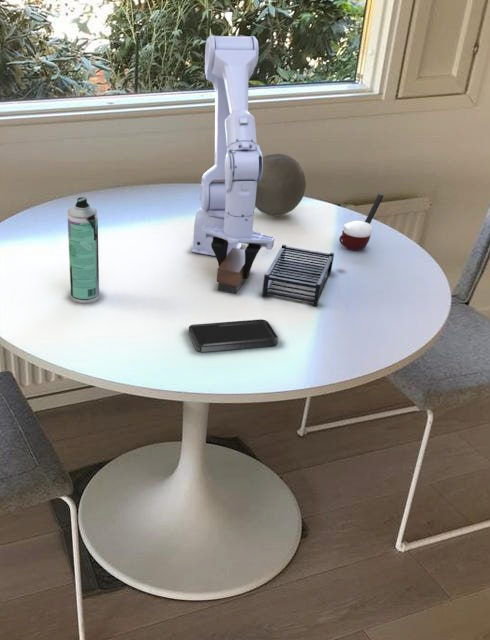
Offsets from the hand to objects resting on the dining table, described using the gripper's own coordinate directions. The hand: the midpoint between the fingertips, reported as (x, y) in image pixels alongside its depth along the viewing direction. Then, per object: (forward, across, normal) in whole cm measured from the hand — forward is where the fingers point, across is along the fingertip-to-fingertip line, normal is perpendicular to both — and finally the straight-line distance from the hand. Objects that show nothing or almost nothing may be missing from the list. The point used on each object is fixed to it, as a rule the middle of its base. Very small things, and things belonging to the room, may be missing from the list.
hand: (234, 274), depth 157 cm
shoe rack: (+2, +12, +4) cm, 13 cm away
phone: (+2, +6, -22) cm, 23 cm away
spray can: (+2, -25, -18) cm, 31 cm away
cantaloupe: (+2, -1, +39) cm, 39 cm away
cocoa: (+2, +21, +28) cm, 35 cm away
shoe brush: (+2, 0, 0) cm, 2 cm away
